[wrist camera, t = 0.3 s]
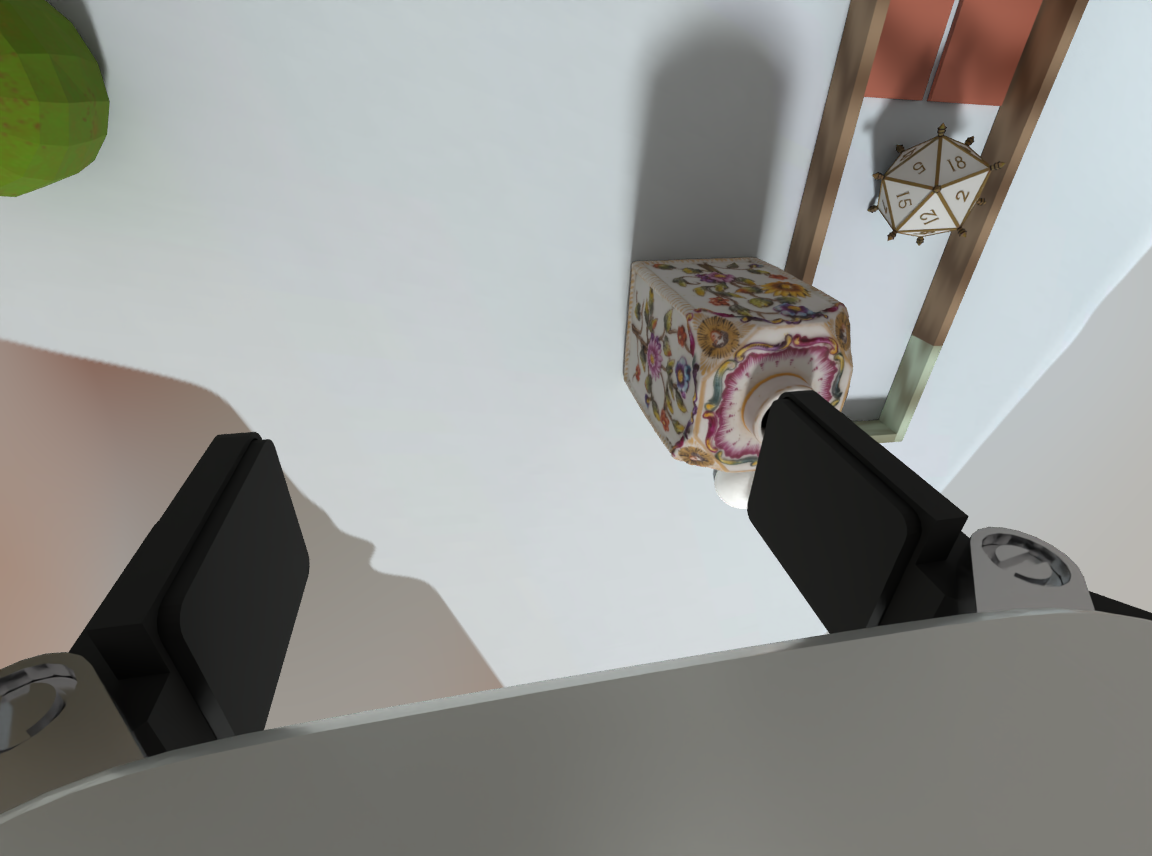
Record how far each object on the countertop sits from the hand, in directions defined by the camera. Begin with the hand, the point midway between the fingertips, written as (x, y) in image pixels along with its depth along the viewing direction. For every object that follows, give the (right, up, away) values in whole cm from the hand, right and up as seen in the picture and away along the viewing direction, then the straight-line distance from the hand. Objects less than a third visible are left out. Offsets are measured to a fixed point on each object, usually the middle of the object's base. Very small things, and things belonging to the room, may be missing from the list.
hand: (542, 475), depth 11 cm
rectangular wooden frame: (+28, +18, +39) cm, 51 cm away
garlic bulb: (+19, -4, +50) cm, 54 cm away
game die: (+28, +22, +37) cm, 51 cm away
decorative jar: (+11, +11, +39) cm, 42 cm away
